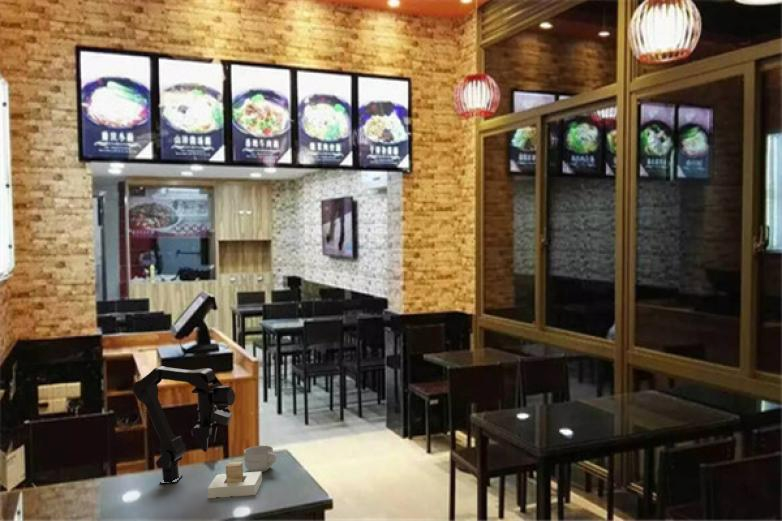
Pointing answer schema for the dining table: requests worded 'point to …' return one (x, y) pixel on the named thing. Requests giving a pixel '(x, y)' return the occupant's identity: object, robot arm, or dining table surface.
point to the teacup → (259, 458)
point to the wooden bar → (234, 472)
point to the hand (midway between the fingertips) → (209, 447)
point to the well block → (235, 485)
